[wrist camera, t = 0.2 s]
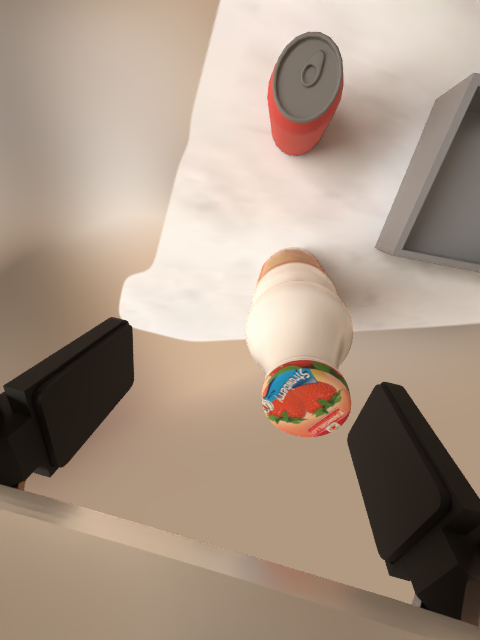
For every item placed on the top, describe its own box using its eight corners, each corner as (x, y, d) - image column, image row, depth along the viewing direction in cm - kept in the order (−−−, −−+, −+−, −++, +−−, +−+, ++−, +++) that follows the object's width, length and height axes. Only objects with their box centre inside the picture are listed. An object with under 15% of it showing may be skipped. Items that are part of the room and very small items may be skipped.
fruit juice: (286, 233, 36) (297, 293, 10) (333, 271, 37) (444, 407, 12) (248, 281, 40) (192, 408, 15) (292, 314, 41) (310, 484, 16)
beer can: (336, 112, 29) (369, 56, 18) (302, 167, 32) (313, 146, 21) (292, 77, 28) (299, -2, 18) (261, 137, 31) (250, 100, 20)
